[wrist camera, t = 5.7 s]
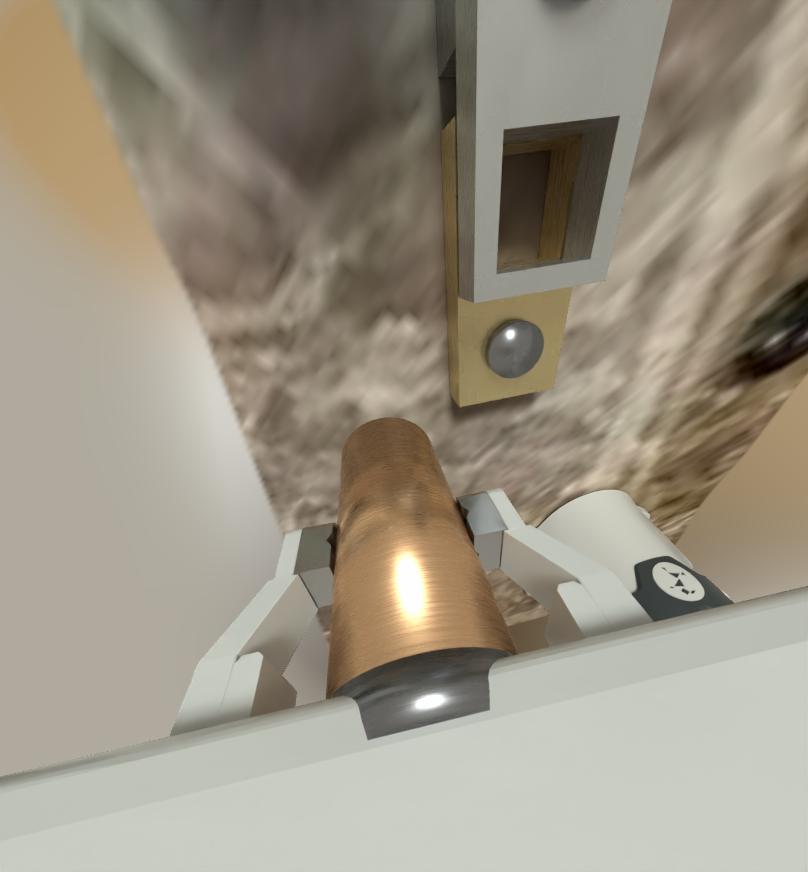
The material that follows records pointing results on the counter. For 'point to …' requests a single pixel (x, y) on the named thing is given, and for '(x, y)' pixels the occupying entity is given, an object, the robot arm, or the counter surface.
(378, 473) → the pin
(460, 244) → the chain joint
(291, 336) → the counter surface
